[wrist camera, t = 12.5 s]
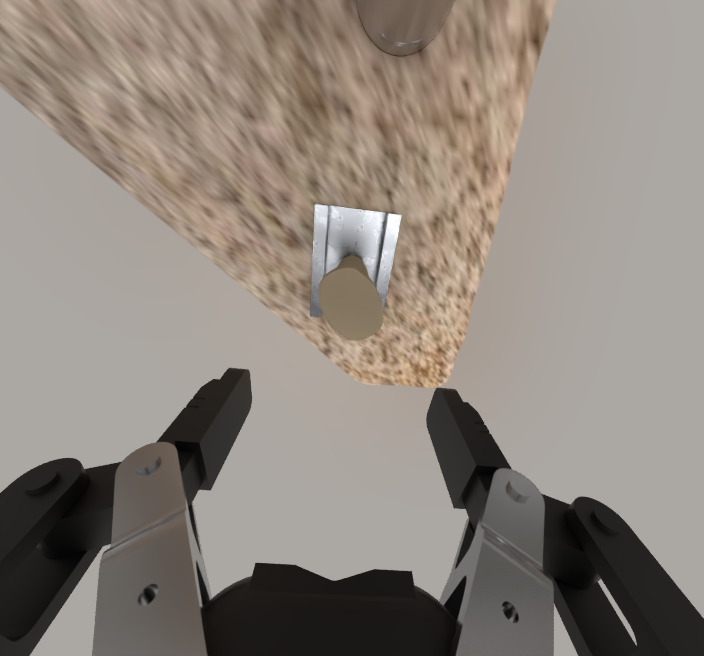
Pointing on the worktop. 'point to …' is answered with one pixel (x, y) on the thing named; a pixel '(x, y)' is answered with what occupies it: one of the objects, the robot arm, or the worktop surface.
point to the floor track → (352, 245)
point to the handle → (351, 300)
